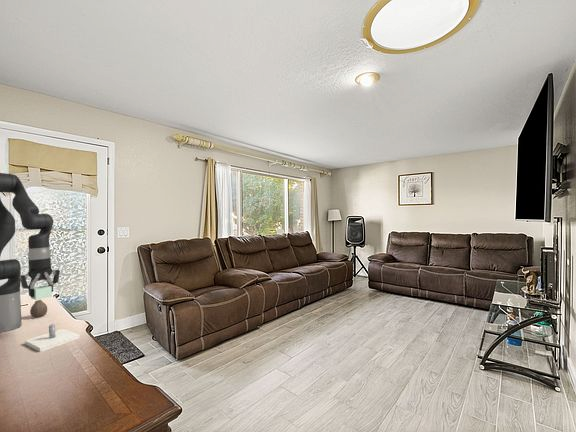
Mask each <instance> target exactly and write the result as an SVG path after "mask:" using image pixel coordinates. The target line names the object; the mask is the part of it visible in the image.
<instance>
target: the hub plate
mask: <svg viewBox="0 0 576 432" xmlns="http://www.w3.org/2000/svg"><path fill="white" fill-rule="evenodd" d="M79 339H80V334H79V333H76V332H72V331H70V330H68V329H65V328H60V329H57V330H56V325H55V324H54V323H53V324H49V326H48V332H47V333H44V334H42V335H38V336H34V337H32V338H28V339H25V340H24V344H25V345H26V346H28V347H30V348H32V349H34V350H36V351H38V352H40V353H42V352H44V351H47V350H49V349H52V348H56V347H58V346H61V345H65V344H68V343H70V342H73V341H77V340H79Z"/></svg>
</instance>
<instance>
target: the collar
mask: <svg viewBox="0 0 576 432" xmlns="http://www.w3.org/2000/svg"><path fill="white" fill-rule="evenodd" d="M33 289H34V297H31V296H30V299H32V300H35V301H37V300H42V299H45V298H50V297H53V294H52V293H53V292H52V286H48V285H42V286H37V287H34V288H33Z"/></svg>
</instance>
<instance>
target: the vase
mask: <svg viewBox="0 0 576 432" xmlns="http://www.w3.org/2000/svg"><path fill="white" fill-rule="evenodd" d="M29 311H30V312H29V314H30V316H31V317H32V318H34V319H39V318H42V317H45V316H46V315H47V312H48V306H47V304H46V303H45V302H43V300H42V299H37V300H35V302H34V304H32V306H30V310H29Z"/></svg>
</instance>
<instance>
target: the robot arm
mask: <svg viewBox="0 0 576 432" xmlns="http://www.w3.org/2000/svg"><path fill="white" fill-rule="evenodd" d="M0 193H9V194H10V193H12V194H14V197H13V199H12V203H11V204H12V207H13V209H14V210H15V211H16V212H17V214H18V215H19V217H20V221H21V225H22V227H23V228H24V229H26V230H30V231H32V230H39V232H38V233H36V234H32V235H30V236H29V237H28V239H27V243H28V252H27V258H28V261H27V262H28V272H27V273H26V274H22V273H21V272H22V270H21V268H22V266H21V263H20V261H19V260H18V259H16V258H13V259H12V258H11V259H3V260H0V281H3V280H7V281H6V282H5V283H3V284H1V285H0V333H2V332H8V331H12V330H16V329H18V328H20V327H22V303H21V287H22V289H25V290H26V289H27V290H28V297H30V298H31V297H34V289H33V288H35V285H36V284H37V282H39V281H45V282H46V283H47V284H48V285H47V286H52V293H53V292H54V285H55V284H58V282H59V279H60V272H61V270H60V269H52V259H51V256H52V254H51V248H50V236H51V233H52V229H53V226H54V218H53V217H52V215H50V214H48V213H40V208H39V207H38V206H37V205H36V204H35V202H34V201H33V200H32V199H31V198H30V195H28V192H27V190H26V188H25V186H24V185H23V182H22V181H21V179H20V178H19V176H17V175H16V174H13V173H12V174H11V173H6V172H5V173H3V172H0ZM15 234H16V219H15V217H14V215H13V213H12V212H10V210H8V208H7V207H6V206H5V205H4V204H3V201H2V199H1V197H0V257H1V255H2V252H3V250H4V249H5V247H6V246H7V245H8V244H9V242H10V241H11V240H12V239H13V237H14V236H15ZM51 275H53V279H52V278H51ZM28 277H29V278H30V281H29V283H28V282H27V279H28Z"/></svg>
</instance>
